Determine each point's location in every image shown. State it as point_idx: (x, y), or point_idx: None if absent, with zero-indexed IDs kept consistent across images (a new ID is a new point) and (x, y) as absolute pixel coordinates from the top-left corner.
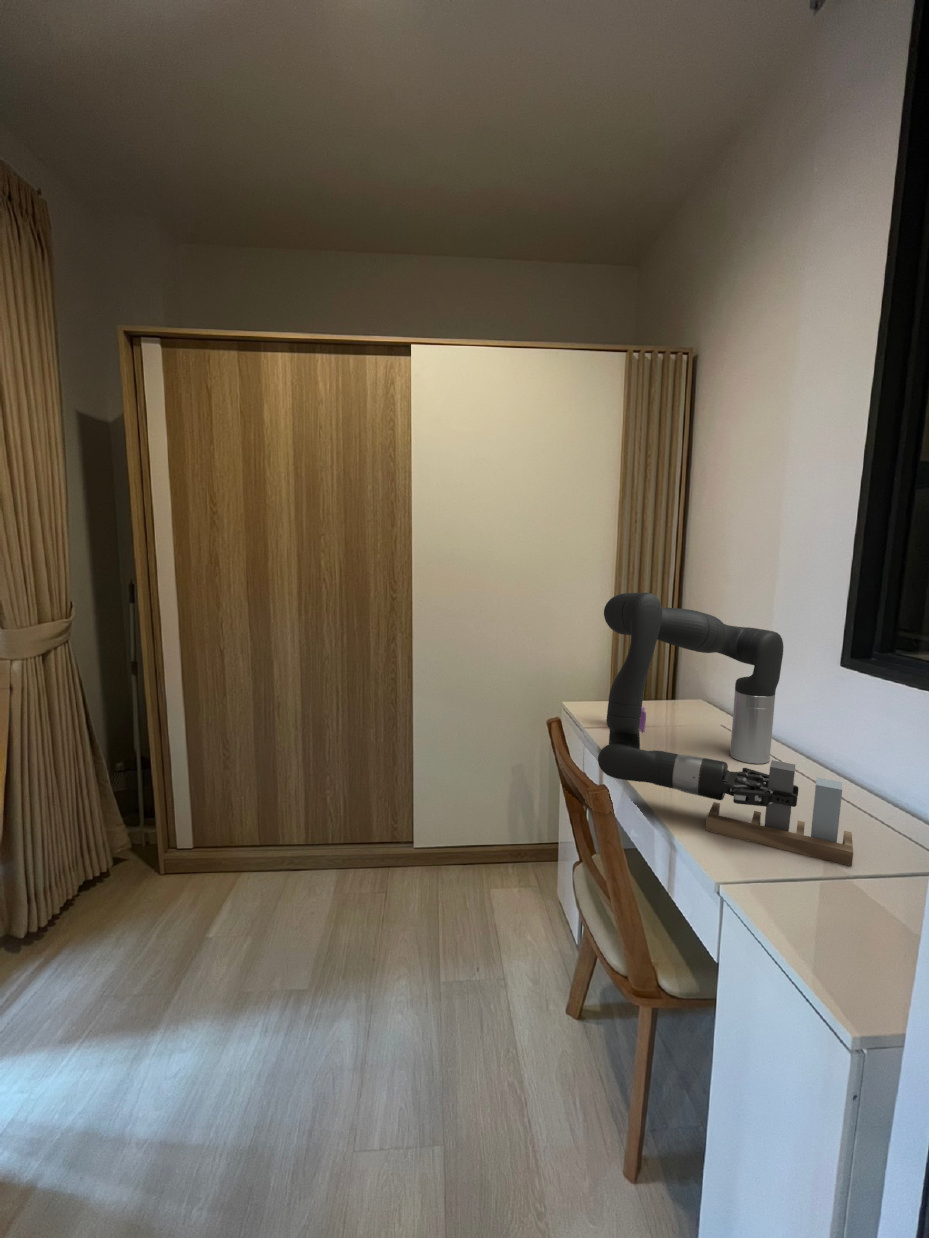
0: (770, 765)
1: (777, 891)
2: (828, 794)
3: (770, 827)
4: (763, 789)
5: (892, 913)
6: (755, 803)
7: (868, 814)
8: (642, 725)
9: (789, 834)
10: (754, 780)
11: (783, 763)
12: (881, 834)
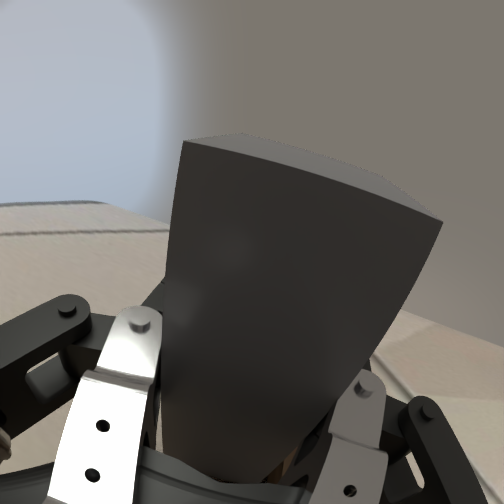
0: (402, 204)
1: (483, 447)
2: None
3: (284, 466)
4: (381, 427)
5: (421, 327)
6: (416, 488)
7: (82, 232)
8: None
9: None
10: (156, 469)
11: (256, 143)
12: (157, 249)
